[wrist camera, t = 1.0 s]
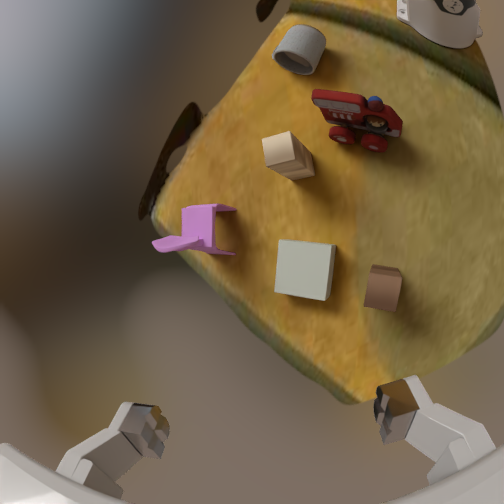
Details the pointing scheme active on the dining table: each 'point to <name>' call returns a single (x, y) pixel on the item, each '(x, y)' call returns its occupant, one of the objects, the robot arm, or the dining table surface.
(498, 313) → the dining table surface
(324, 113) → the toy fire truck
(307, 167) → the maple block
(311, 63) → the ceramic mug
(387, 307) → the walnut block
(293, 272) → the pedestal block
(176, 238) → the toy chair
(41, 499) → the robot arm
